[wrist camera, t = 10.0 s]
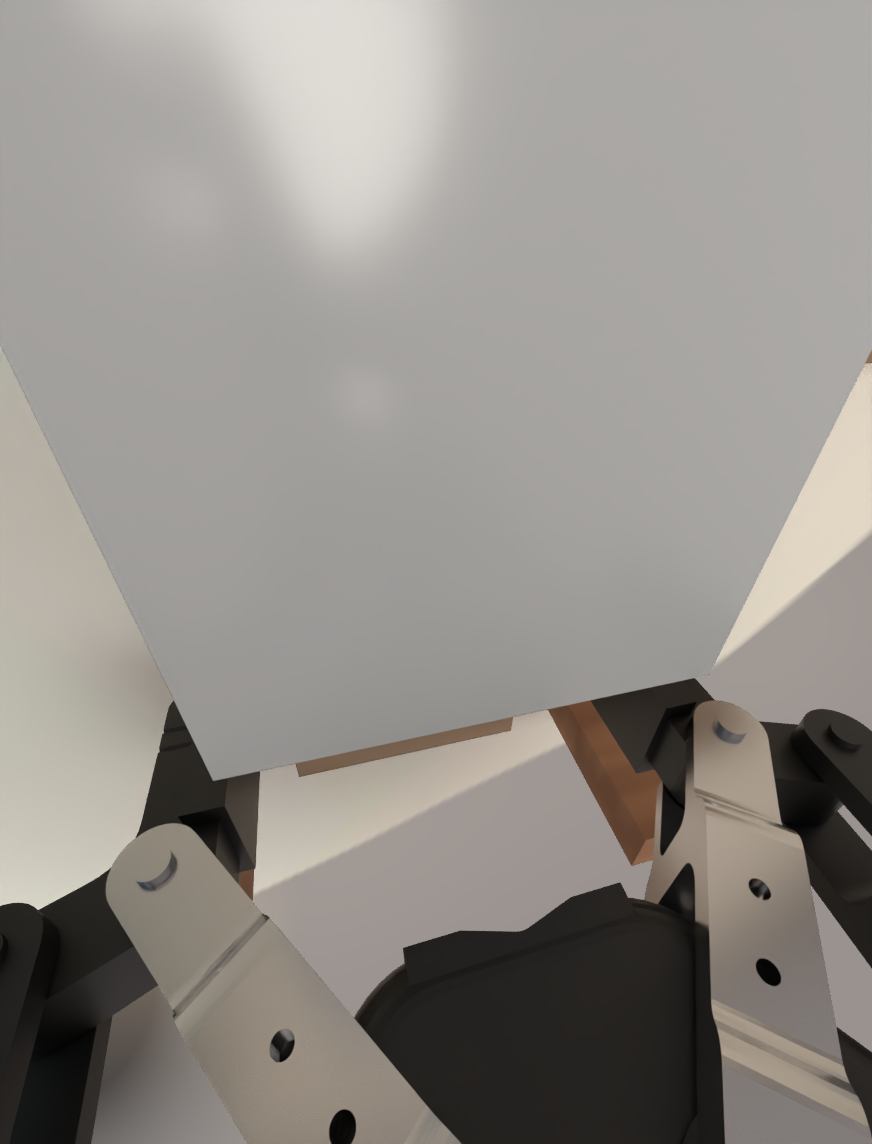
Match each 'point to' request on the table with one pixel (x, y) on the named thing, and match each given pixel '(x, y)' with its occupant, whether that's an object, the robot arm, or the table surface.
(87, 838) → the table surface
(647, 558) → the slab
